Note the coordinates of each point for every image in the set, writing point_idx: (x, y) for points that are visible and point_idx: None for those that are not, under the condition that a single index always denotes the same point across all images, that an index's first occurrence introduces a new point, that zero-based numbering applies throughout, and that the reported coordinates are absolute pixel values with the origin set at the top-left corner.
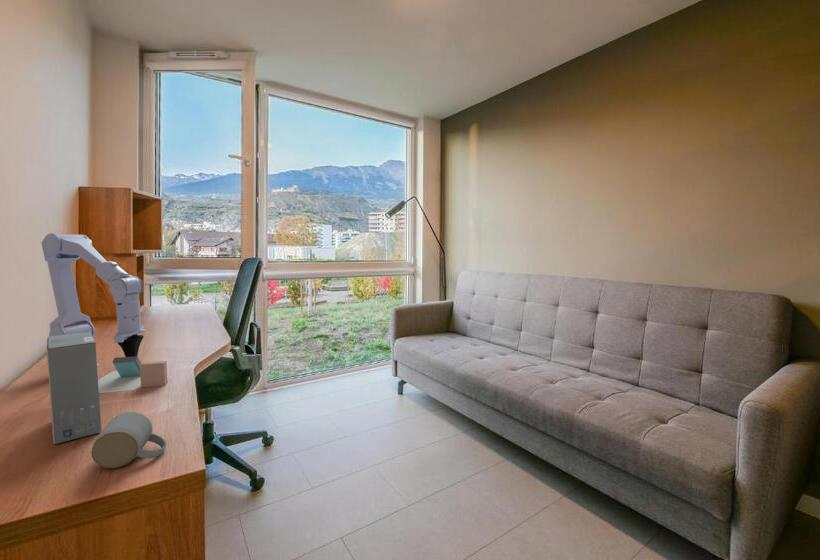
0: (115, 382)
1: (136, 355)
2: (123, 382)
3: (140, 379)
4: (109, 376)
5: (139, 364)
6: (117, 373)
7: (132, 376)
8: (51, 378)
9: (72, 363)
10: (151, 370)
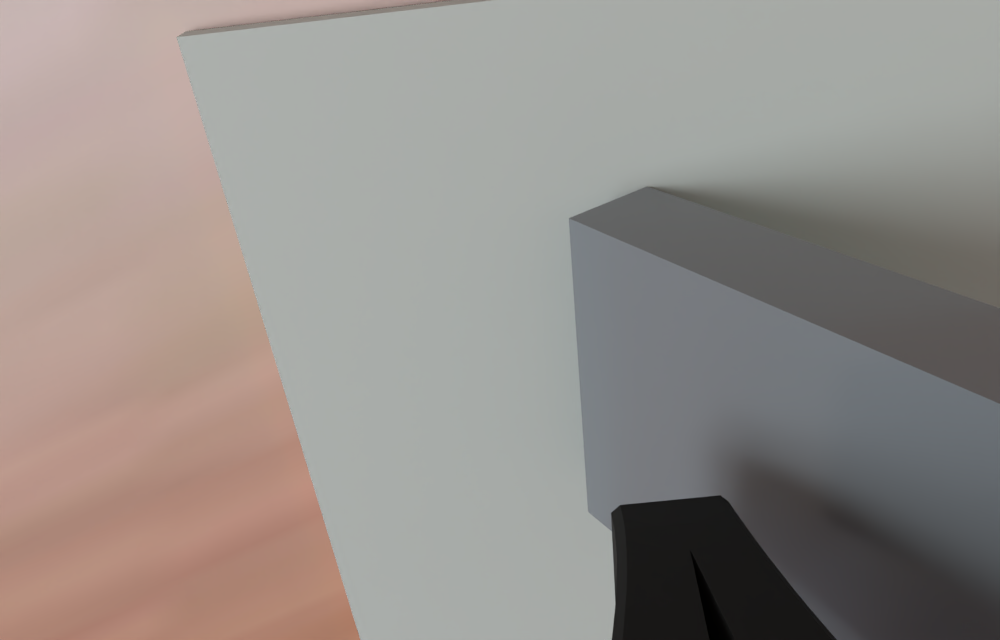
0: None
1: (697, 567)
2: (988, 294)
3: (938, 88)
4: (599, 593)
5: (862, 296)
6: (478, 573)
7: None
8: None
9: None
10: None
